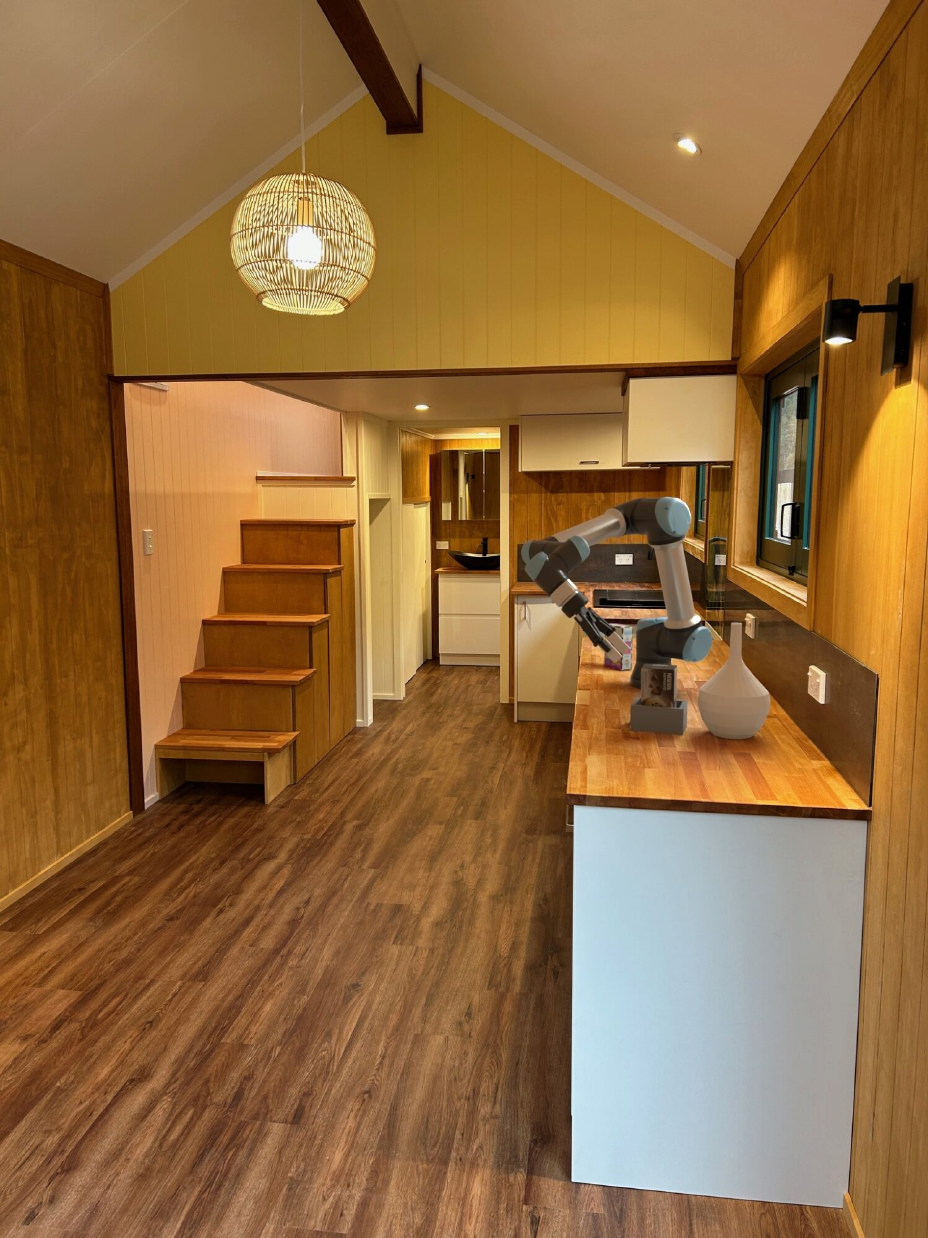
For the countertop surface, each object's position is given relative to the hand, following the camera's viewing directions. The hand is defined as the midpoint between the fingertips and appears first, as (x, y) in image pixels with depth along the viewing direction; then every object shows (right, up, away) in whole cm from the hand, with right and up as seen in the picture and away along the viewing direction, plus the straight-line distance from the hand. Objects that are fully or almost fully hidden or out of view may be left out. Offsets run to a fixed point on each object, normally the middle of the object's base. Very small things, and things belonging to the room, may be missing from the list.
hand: (622, 655), depth 235 cm
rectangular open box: (+10, -20, -1) cm, 22 cm away
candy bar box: (+14, -8, +85) cm, 87 cm away
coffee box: (+9, -19, -1) cm, 21 cm away
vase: (+27, -21, -8) cm, 35 cm away
